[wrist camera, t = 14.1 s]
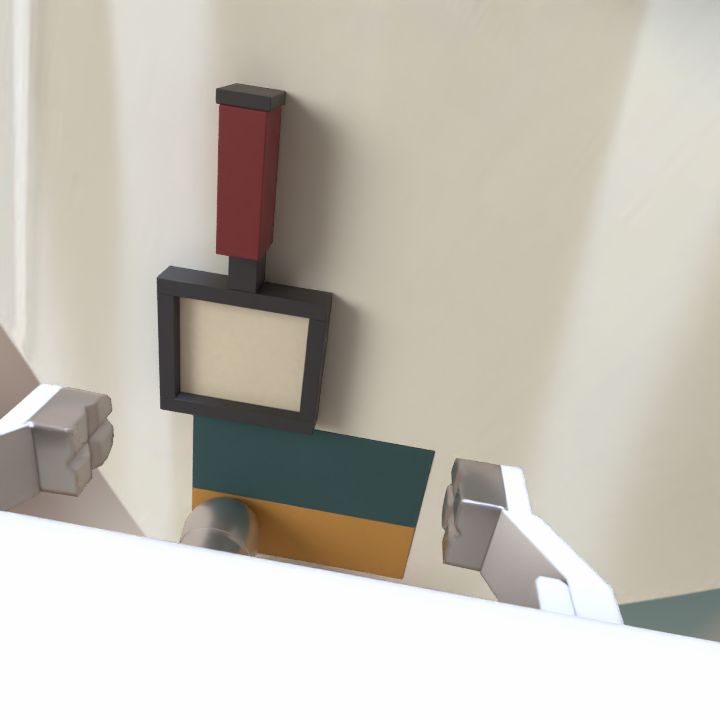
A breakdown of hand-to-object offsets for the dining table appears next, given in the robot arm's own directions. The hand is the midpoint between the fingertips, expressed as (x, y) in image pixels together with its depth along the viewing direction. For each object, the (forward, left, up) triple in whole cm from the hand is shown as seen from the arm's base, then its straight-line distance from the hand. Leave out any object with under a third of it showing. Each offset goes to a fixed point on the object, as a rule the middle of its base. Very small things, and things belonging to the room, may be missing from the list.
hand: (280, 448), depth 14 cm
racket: (+8, +7, -29) cm, 31 cm away
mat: (+2, +28, -29) cm, 40 cm away
